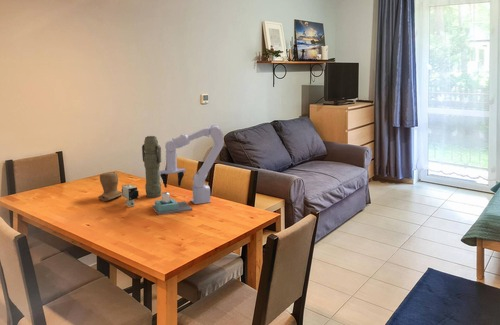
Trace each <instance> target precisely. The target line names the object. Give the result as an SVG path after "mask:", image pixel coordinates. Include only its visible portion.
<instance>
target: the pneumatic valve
mask: <svg viewBox="0 0 500 325" xmlns="http://www.w3.org/2000/svg"><path fill="white" fill-rule="evenodd" d="M121 192H122V194H123V195H122V197H123V198H125V199H126V200H125V202H126V206H127V208H128V207H129V208H130V207H135V206H136V203H135V200H138V199H139V190H138V187H137V186H136V185H132V184H130V183H129V184H123V185H121Z"/></svg>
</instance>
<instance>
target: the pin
mask: <svg viewBox="0 0 500 325" xmlns="http://www.w3.org/2000/svg"><path fill="white" fill-rule="evenodd" d="M170 199H171V194H170V192H169V191H168V192H167V191H164V192H161V200H162V204H170Z"/></svg>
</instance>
